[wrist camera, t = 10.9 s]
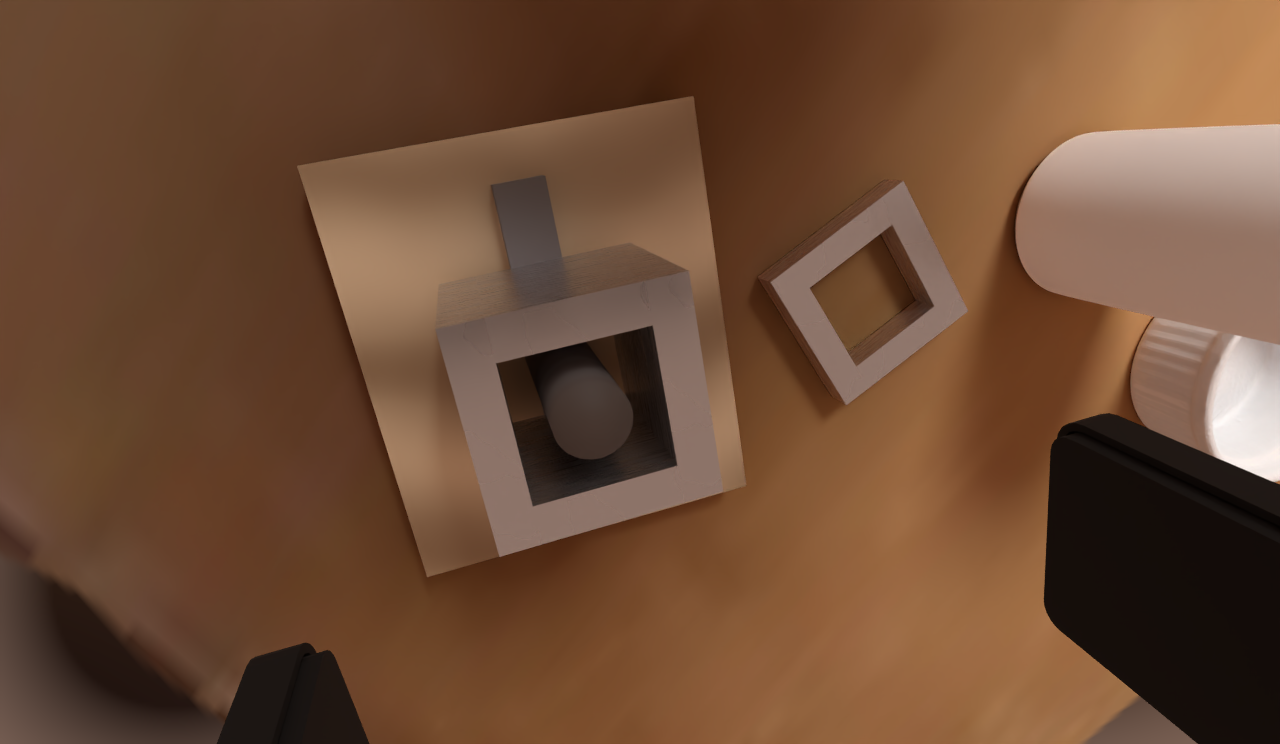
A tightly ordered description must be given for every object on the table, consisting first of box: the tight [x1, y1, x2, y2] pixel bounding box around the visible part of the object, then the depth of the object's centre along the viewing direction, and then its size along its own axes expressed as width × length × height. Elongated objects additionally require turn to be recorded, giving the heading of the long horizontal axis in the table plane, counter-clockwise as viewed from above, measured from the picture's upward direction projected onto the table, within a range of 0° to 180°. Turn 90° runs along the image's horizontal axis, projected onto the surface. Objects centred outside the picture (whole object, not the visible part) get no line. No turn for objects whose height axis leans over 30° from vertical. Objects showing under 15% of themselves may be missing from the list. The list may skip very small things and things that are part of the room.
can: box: [1015, 124, 1280, 345], centre depth 24 cm, size 6×6×12 cm
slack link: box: [757, 180, 968, 405], centre depth 27 cm, size 6×6×1 cm
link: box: [435, 242, 723, 557], centre depth 20 cm, size 6×6×6 cm
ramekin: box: [1130, 317, 1280, 482], centre depth 31 cm, size 9×9×4 cm
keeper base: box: [297, 96, 746, 577], centre depth 21 cm, size 14×12×8 cm
